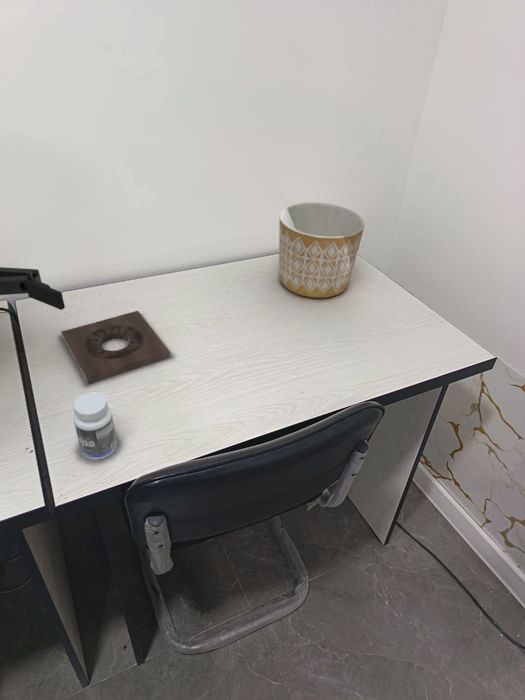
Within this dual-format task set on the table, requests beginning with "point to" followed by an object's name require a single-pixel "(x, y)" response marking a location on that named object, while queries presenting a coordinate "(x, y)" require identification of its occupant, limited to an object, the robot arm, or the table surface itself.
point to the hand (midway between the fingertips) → (24, 324)
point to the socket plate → (110, 363)
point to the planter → (318, 248)
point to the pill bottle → (94, 426)
